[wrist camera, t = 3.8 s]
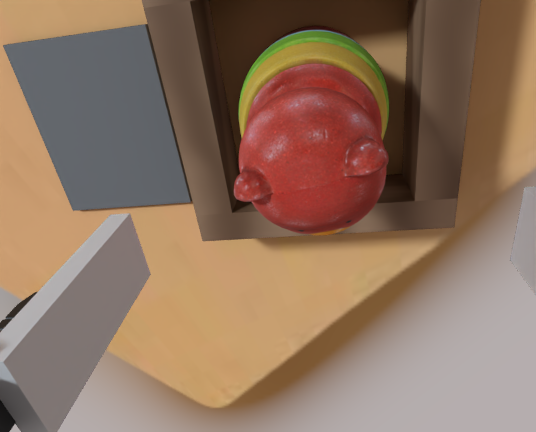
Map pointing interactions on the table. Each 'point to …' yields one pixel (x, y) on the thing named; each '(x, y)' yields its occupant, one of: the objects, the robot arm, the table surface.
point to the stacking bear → (313, 132)
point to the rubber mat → (103, 117)
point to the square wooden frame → (415, 119)
